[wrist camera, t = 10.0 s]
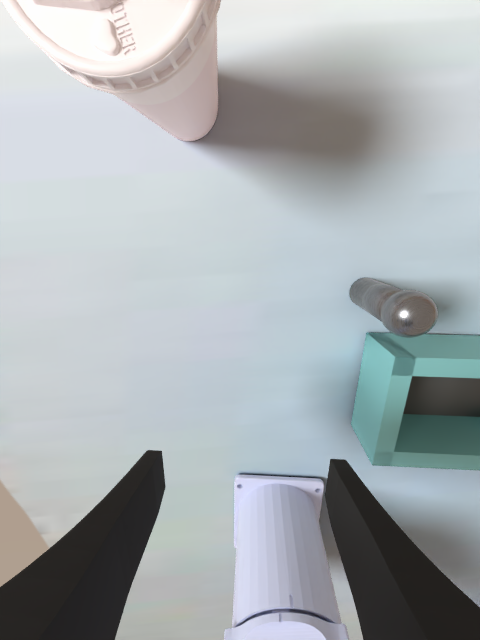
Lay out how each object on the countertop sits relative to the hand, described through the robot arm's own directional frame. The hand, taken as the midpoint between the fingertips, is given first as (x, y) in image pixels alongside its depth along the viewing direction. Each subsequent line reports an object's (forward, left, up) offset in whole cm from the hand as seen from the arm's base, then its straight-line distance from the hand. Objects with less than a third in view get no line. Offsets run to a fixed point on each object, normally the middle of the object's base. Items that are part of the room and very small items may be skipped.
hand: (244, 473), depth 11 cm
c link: (-1, -14, -10) cm, 17 cm away
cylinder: (+6, -8, -10) cm, 14 cm away
